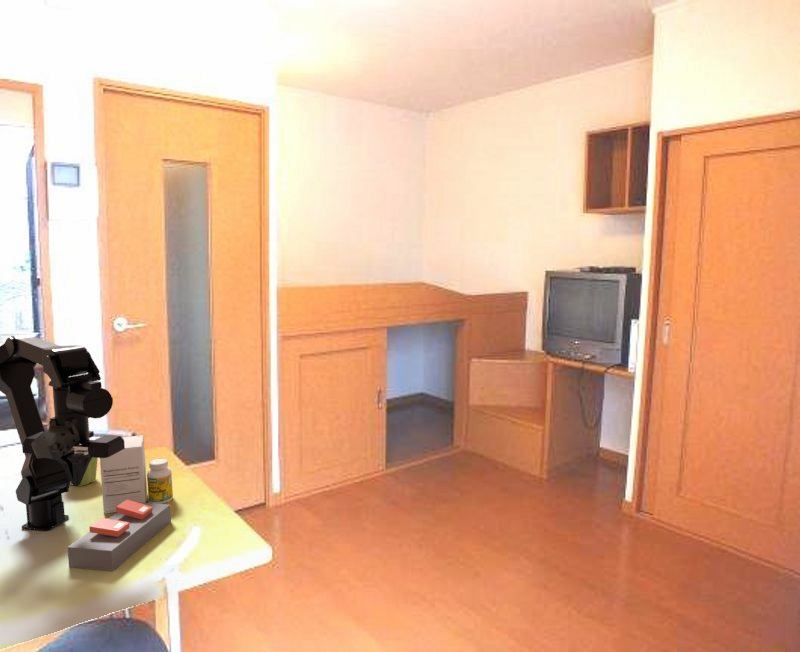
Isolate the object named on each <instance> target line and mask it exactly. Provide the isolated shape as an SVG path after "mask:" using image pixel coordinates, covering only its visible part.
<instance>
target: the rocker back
mask: <svg viewBox="0 0 800 652" xmlns="http://www.w3.org/2000/svg"><path fill="white" fill-rule="evenodd" d="M152 509H153V507H152V506H148V505H145V504H141V503H138V502H134V501H131V500H128V499H127V500H125V501H124V502H122V503H121V504H120V505H118V506H117V507H116V512H115V513H121V514H124V515H127V516H131V517H134V518H138V519H141V520H142V519H144V518H145V517H146V516H148V515H149V514H150V513H152Z"/></svg>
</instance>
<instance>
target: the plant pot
mask: <svg viewBox="0 0 800 652" xmlns="http://www.w3.org/2000/svg"><path fill="white" fill-rule="evenodd" d="M80 445H81V444H80ZM98 460H99V458H94V457H92V459H91V461H90V463H89V465H88V467H87V469H86V472H85V474H84V476H83V479H82V481H81V484H80V485H78V486H77V487H81V486H86V485H89V484H90V483H94V482H95V481H96V479H97V471H98V469H97V468H98ZM70 486H73V485H72V483H71V481H70Z"/></svg>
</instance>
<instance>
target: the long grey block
mask: <svg viewBox="0 0 800 652" xmlns="http://www.w3.org/2000/svg"><path fill="white" fill-rule="evenodd" d="M138 503H141V504H145V505H148V506H152V507H153V509H152V513H150V514H149V515H148V516H146V517H145V518H144V519H142V520H141V519H138V518H134V517H131V516H127V515H124V514H121V513H117V512H115V513H114V514H113V515H111V516H110V517H108V518H107V519H111V520H118V521H124V522H129V529H128V530H126V531H125V532H124V533H122V534H121V535H120V536H118V537H116V536H110V535H103V534H97V533H91V532H90V531H89V532H87V533H85V534H84V535H83V536H81V537H80V538H79V539H77V540H75V541H74V542H72V543H71V544H69V545H68V546H67V557H68V559H67V561H68V568H73V569H74V568H75V569H85V570H87V569H88V570H94V571H95V570H97V571H106V572H107V571H108V572H114V571H115V570H116V569H117V568H119V566H120V565H122V564H123V563H124V562H126V561H127V560H129V558H130V557H131V556H132V555H134V554H135V553H136V552H137V551H138V550H139V549H141V548H142V547H143V546H144V545H146V544H147V543H148V542H149V541H150V540H152V539H153V538H154V537H155V536H156V535H157V534H159V533H160V532H161V531H162V530H163V529H165V528H166V527H167V526H169V524H171V523H172V514H171V513H172V512H171V504H167V503H163V504H156V503H150V502H146V503H143V502H138Z"/></svg>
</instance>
